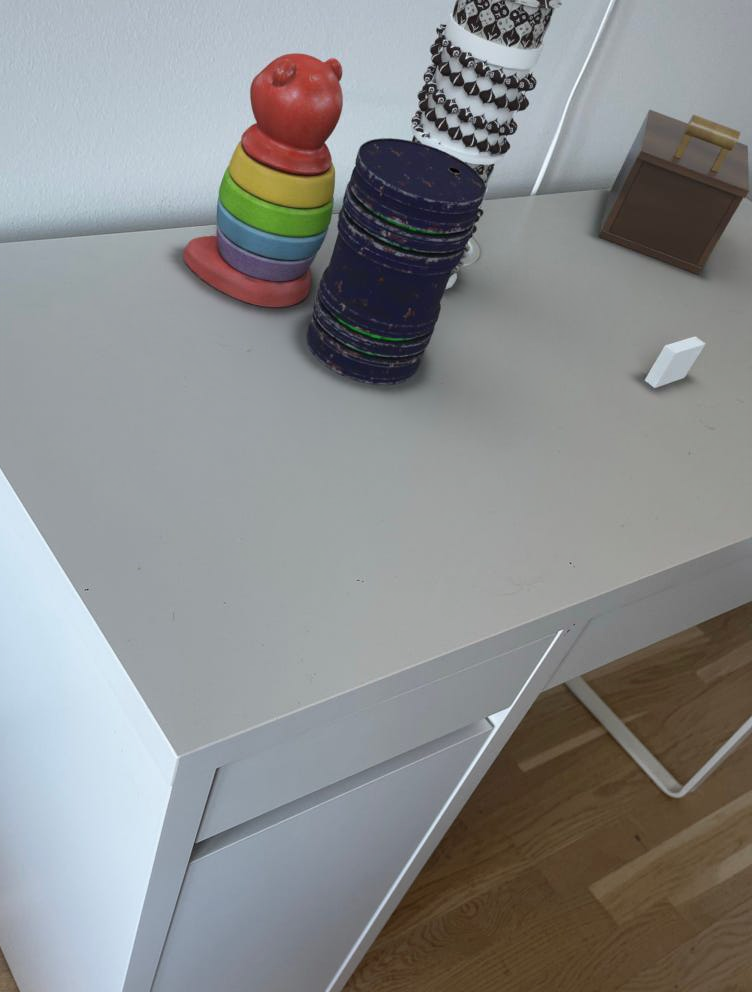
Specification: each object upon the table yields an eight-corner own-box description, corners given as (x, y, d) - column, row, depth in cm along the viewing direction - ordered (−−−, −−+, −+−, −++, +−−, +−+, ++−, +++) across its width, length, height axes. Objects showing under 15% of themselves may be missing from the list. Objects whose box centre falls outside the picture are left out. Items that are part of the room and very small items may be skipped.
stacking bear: (276, 242, 91) (327, 29, 78) (337, 302, 86) (402, 86, 73) (173, 252, 85) (209, 25, 72) (233, 317, 81) (282, 86, 68)
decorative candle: (347, 246, 94) (438, -63, 75) (419, 237, 98) (521, -55, 80) (405, 298, 89) (516, -15, 71) (478, 287, 94) (599, -10, 76)
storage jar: (338, 390, 77) (399, 203, 66) (284, 319, 82) (332, 135, 71) (441, 380, 81) (514, 204, 71) (384, 313, 87) (443, 139, 76)
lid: (745, 198, 101) (772, 150, 97) (637, 158, 101) (661, 109, 98) (743, 152, 111) (769, 108, 107) (645, 116, 111) (667, 70, 108)
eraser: (684, 377, 91) (706, 343, 89) (654, 388, 89) (675, 353, 86) (674, 370, 92) (695, 335, 89) (644, 380, 89) (664, 345, 87)
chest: (698, 274, 108) (744, 195, 101) (598, 236, 108) (637, 155, 102) (701, 228, 117) (743, 153, 111) (608, 193, 118) (645, 117, 111)
